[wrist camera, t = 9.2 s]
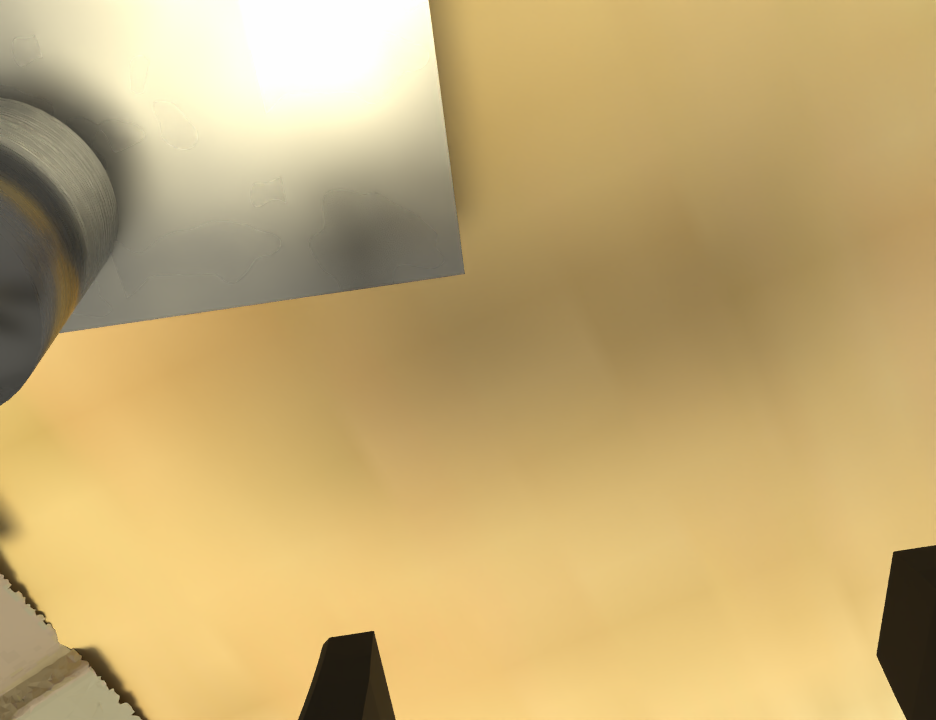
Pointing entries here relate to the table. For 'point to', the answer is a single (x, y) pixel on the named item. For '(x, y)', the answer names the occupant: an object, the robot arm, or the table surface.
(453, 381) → the table surface
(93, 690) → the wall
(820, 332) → the table surface
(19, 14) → the silver box with hole
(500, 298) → the table surface
